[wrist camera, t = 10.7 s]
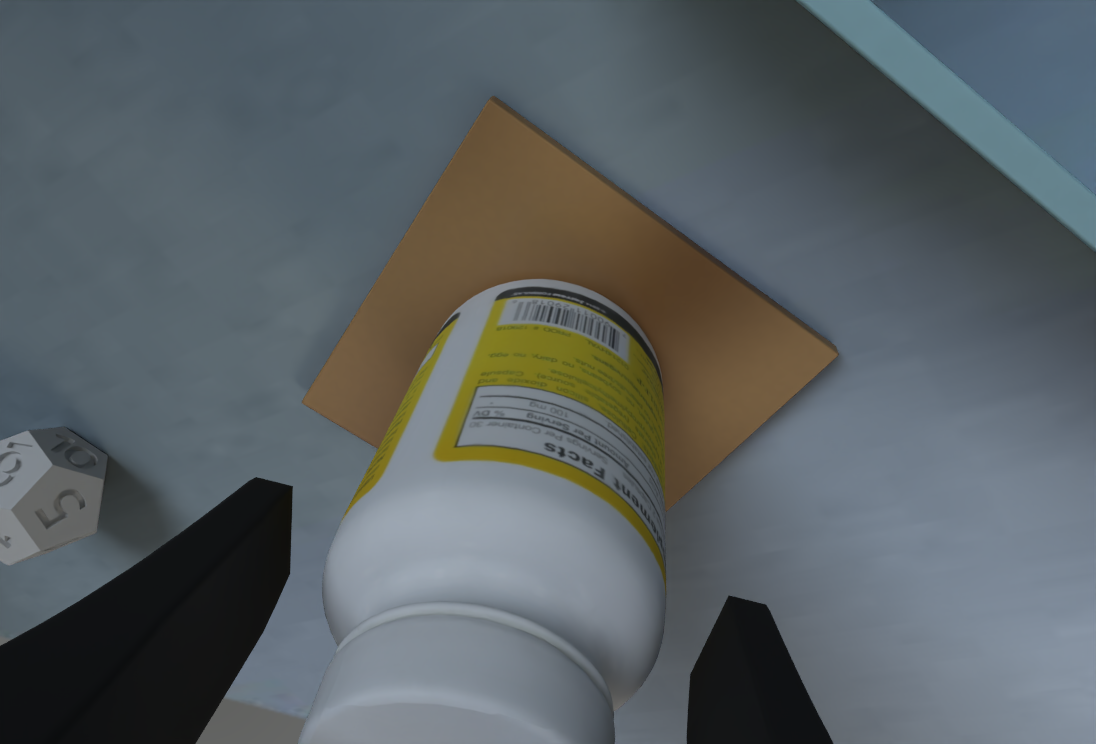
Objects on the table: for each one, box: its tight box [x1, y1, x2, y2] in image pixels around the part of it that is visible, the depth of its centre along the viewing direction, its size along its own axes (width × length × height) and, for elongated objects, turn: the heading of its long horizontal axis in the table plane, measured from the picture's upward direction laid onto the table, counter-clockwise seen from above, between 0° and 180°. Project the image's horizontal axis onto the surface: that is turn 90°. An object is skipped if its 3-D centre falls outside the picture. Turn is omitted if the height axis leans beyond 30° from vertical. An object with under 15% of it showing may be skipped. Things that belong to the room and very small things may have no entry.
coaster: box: [302, 96, 839, 512], centre depth 18 cm, size 9×9×1 cm
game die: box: [0, 427, 108, 566], centre depth 21 cm, size 4×4×3 cm
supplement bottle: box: [298, 279, 666, 744], centre depth 14 cm, size 5×5×10 cm
